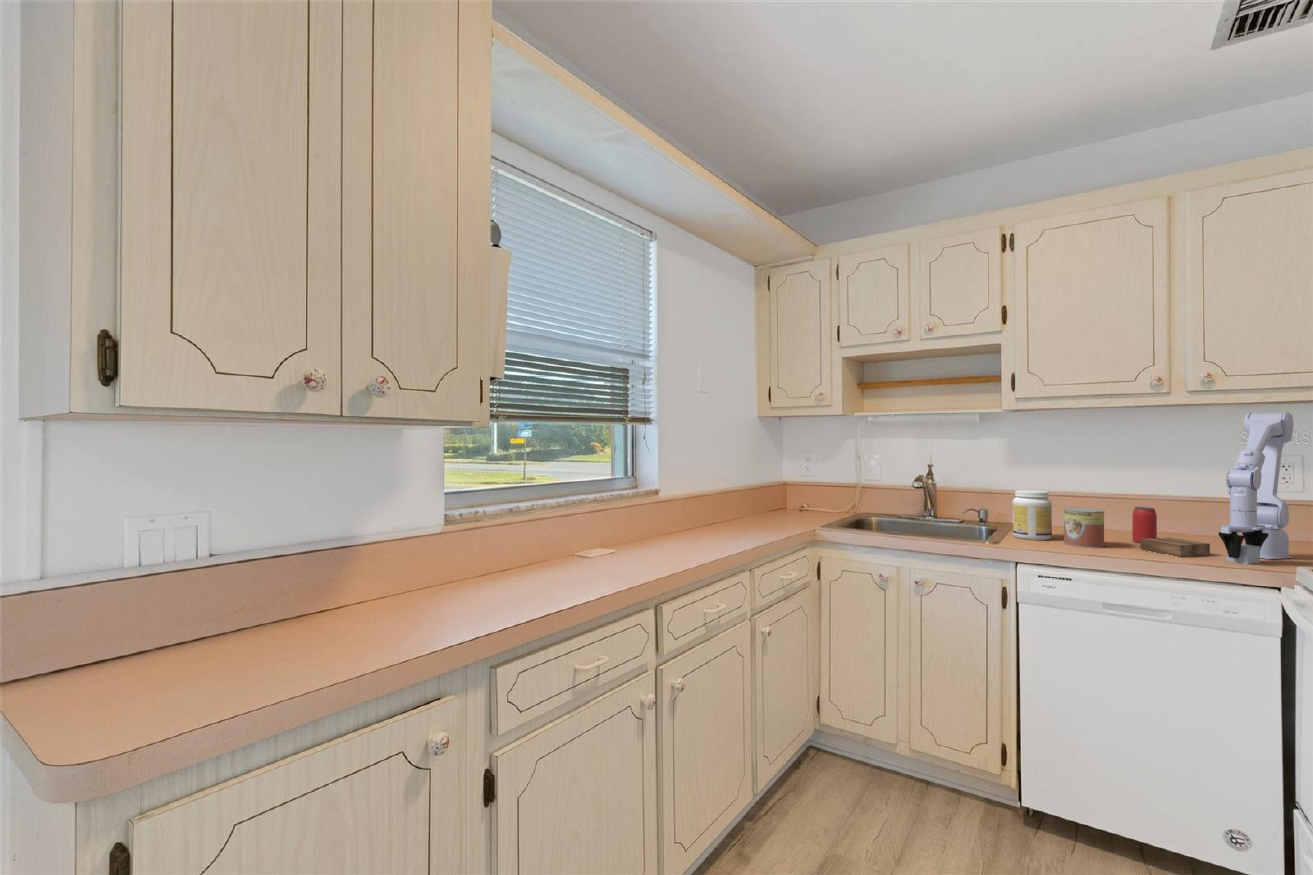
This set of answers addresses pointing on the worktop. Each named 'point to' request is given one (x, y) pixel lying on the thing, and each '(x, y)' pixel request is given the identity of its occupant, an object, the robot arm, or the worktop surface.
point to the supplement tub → (1032, 515)
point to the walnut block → (1175, 547)
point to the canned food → (1084, 527)
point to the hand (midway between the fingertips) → (1243, 557)
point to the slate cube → (1247, 554)
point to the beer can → (1144, 523)
